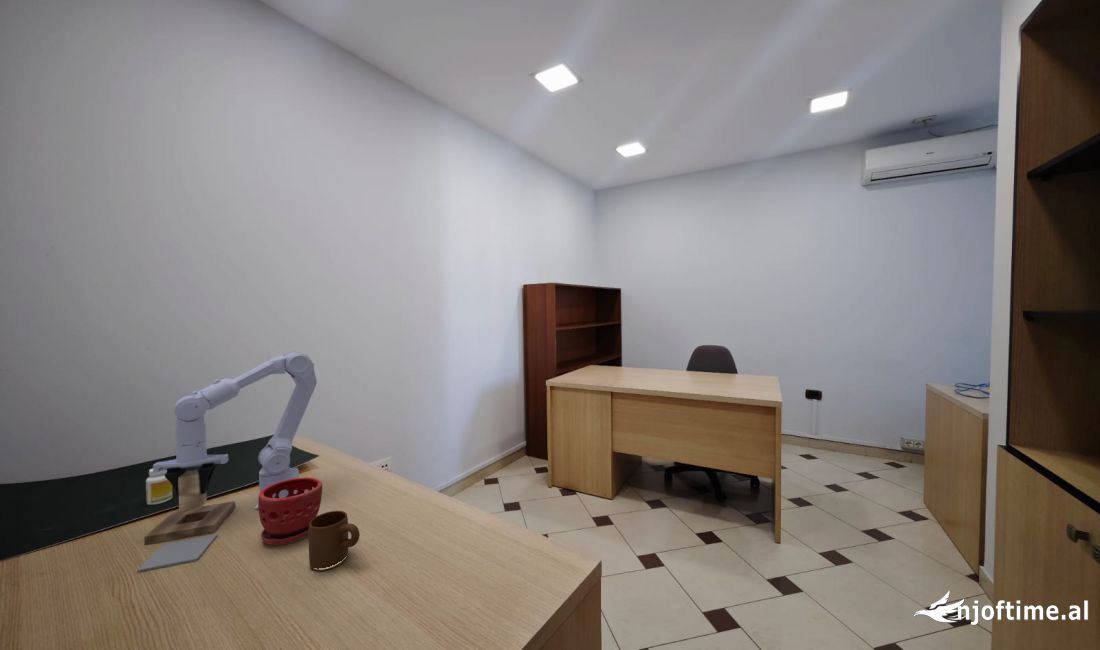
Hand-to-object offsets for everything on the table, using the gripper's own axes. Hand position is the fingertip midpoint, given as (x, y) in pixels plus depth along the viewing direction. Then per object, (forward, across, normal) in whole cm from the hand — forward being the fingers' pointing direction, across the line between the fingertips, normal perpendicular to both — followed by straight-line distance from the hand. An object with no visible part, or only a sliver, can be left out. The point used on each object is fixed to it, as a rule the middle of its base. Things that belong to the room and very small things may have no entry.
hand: (193, 494), depth 98 cm
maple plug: (+3, 0, 0) cm, 3 cm away
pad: (+8, -3, +14) cm, 16 cm away
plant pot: (+8, -25, +15) cm, 30 cm away
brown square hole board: (+8, 0, 0) cm, 8 cm away
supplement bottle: (+8, +16, -21) cm, 28 cm away
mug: (+8, -37, +32) cm, 50 cm away
